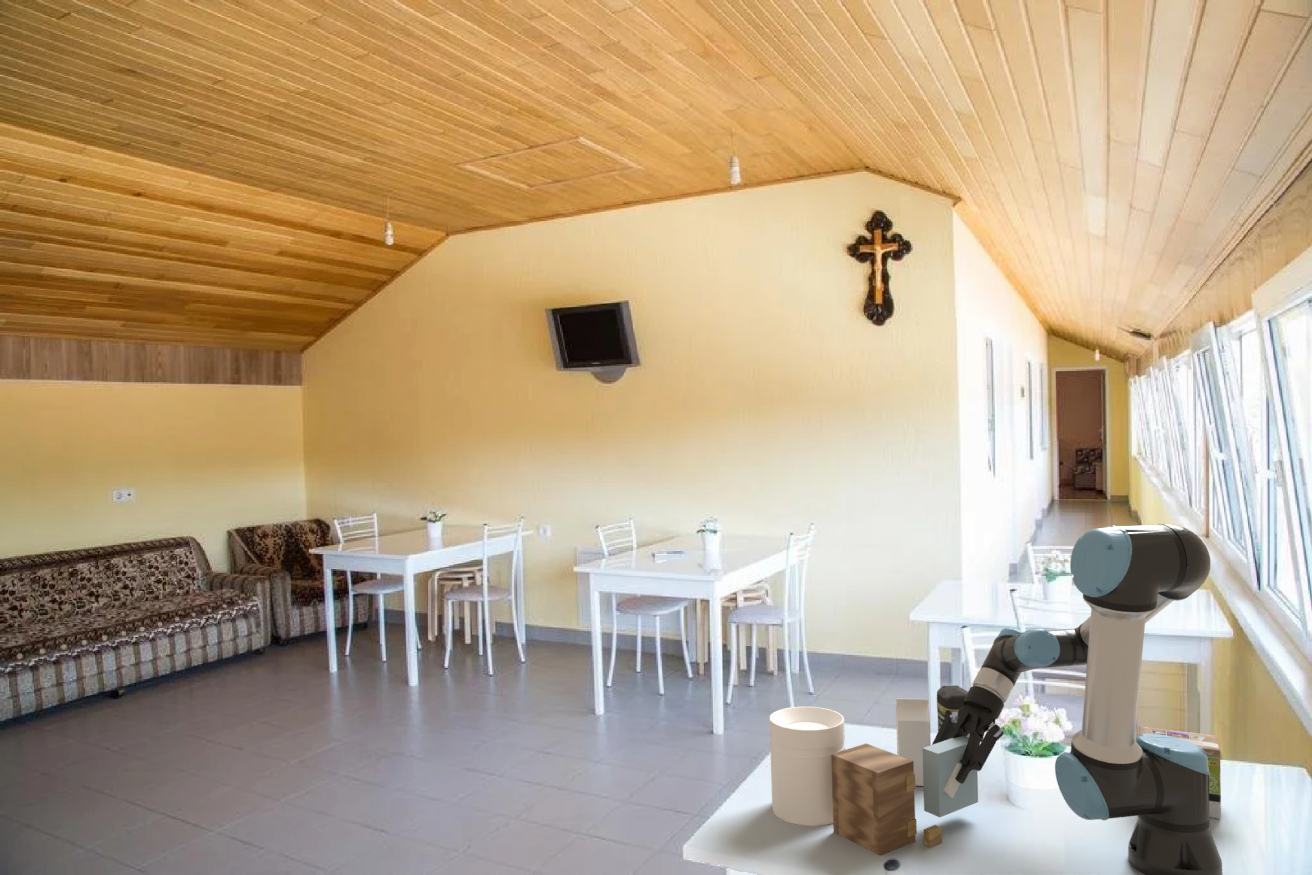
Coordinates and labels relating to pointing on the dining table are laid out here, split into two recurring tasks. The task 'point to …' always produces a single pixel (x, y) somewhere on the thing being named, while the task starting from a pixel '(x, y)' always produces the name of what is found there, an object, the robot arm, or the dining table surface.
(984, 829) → the dining table surface
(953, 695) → the coffee jar
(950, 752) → the door
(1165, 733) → the tea box
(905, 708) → the milk carton
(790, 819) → the canister
